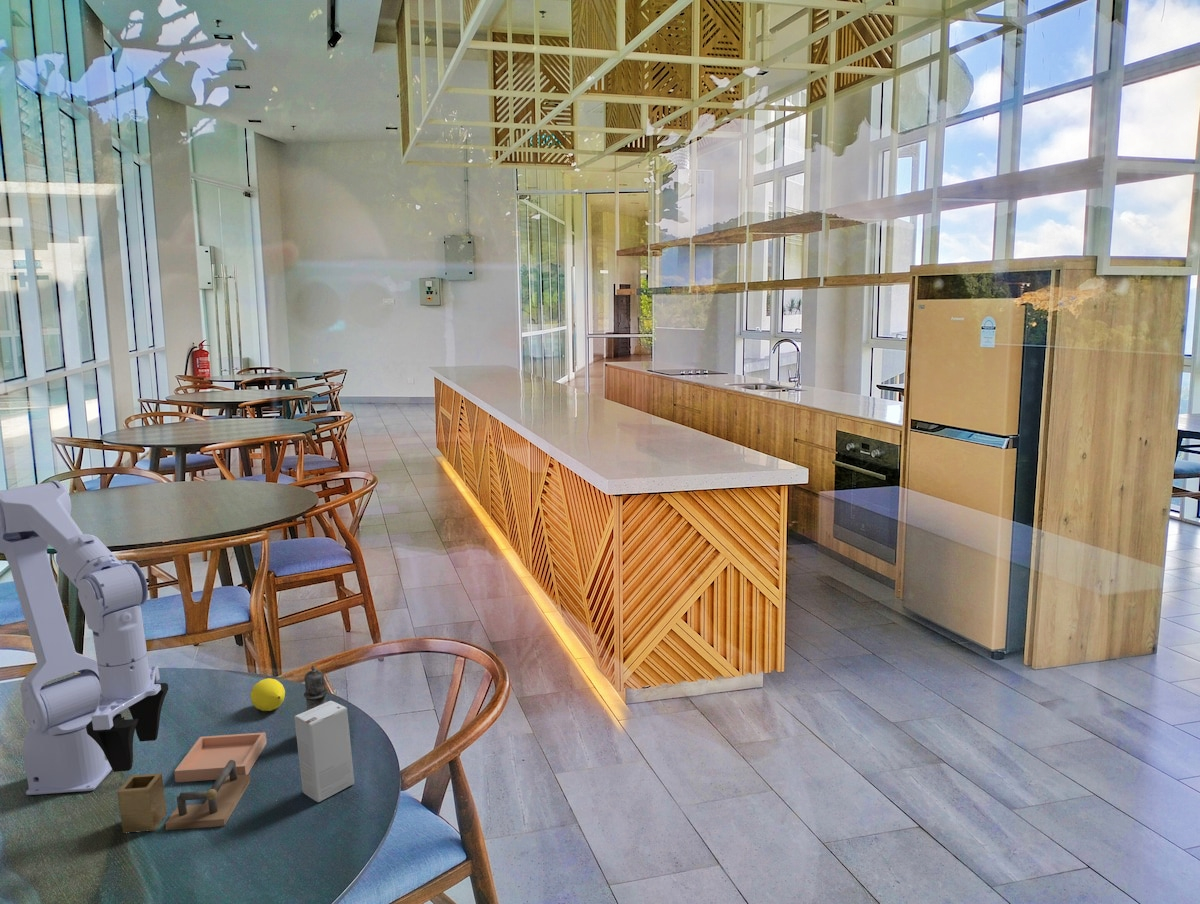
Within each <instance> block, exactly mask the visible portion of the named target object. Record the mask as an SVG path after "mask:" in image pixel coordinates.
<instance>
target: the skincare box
mask: <svg viewBox="0 0 1200 904" xmlns="http://www.w3.org/2000/svg"><path fill="white" fill-rule="evenodd" d="M348 716H349V715H348V708H347V707H346V706H344V705H343V704H339V703H338V702H336V701H333V700H329V701H327V702H326V703H324V704H322V705H319V706H317V707H315V708H312V709H310V710H308V711H303V712H301V713H298V714H297V715H294V717H293V718H294V726H295V734H296V743H297V751H298V752H297V754H298V761H299V771H300V778H301V779H300V780H301V790H302V793H304V795H306V796H307V797H308V798H310V799H312V800H313V801H315V802H316V803H321V802H323V801H324V800H326V799H328V798H330V797H332V796H333V795H336V794H338V793H339V792H342V791H343V790H345V789H347V788H349V787H351V786H353V785H354V784H355V777H354V776H355V775H354V767H353V757H352V746H351V735H350V726H349V725H350V724H349V719H348V718H349V717H348Z"/></svg>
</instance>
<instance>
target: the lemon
mask: <svg viewBox="0 0 1200 904" xmlns="http://www.w3.org/2000/svg"><path fill="white" fill-rule="evenodd" d="M249 695H250V699H251V704H252V705H253V706H254V707H255V709H257V710H260V711H262V712H268V711H269V712H271V711H274V710H276V709H279V707H280V706H281V705H282V704H283V702H284V701H285V697H286V696H285V695H286V690H285V687H284V685H283V684H282V683H281V682H280V681H279V680H277V679H274V678H269V677H268V678H264V679H261V680H259V681H258V682H256V684H254V685H253V686H252V689H251V692H250V694H249Z"/></svg>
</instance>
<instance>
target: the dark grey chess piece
mask: <svg viewBox="0 0 1200 904" xmlns="http://www.w3.org/2000/svg"><path fill="white" fill-rule="evenodd" d="M310 669H311V670H310V671H308V672H307V673H305V676H304V686H305V687H304V688H305V692H304V693H303V697H304V698H305V702H306V709H305V710H306V711H308V710H310V709H312V708H315V707H317V706H319V705H322V704H324V703H326V702H328V701H327V694H328V689H326V688H325V677H324V676H325V675H324V673H323V672H322V671H321V670H318V669H316V667H315V666H314V665H312V666H311V668H310Z"/></svg>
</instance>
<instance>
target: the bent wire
mask: <svg viewBox="0 0 1200 904" xmlns="http://www.w3.org/2000/svg"><path fill="white" fill-rule="evenodd" d="M228 775H229V776H228ZM251 778H252V777H251V774H249V773H248V774H247V775H237V770H236V762H235V761H234V760H230V761H229V762H228V763H227V765H226V766H225V768H224V769H223V771H222V772H221V774H220V775H219V777H218V778H217V779H216V780H215V782H214V783H213V785H212V786H211V788H210V789H208V790H200V791H186V792H180V793H179V795H177V797H176V802H177V806H176V807H175V809H174V810H173V811H172V813H171V814H170V816H169V818H168V819H167V820H166V821H165V823H164V824H165V830H166V831H174V830H187V829H188V830H189V829H199V828H200V829H201V828H202V829H203V828H214V827H225V825H226V824H227V823H228V820H229V819H230V817H231V815H232V814H233V812H234V810H235V809H236V807H237V805H238V803H239V802H240V800H241V798H242V797H243V795H244V793H245V791H246V790H247V788H248V786H249V784H250V783H251V781H252V779H251ZM195 800H205V801H204V803H199V804H187V801H195Z"/></svg>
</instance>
